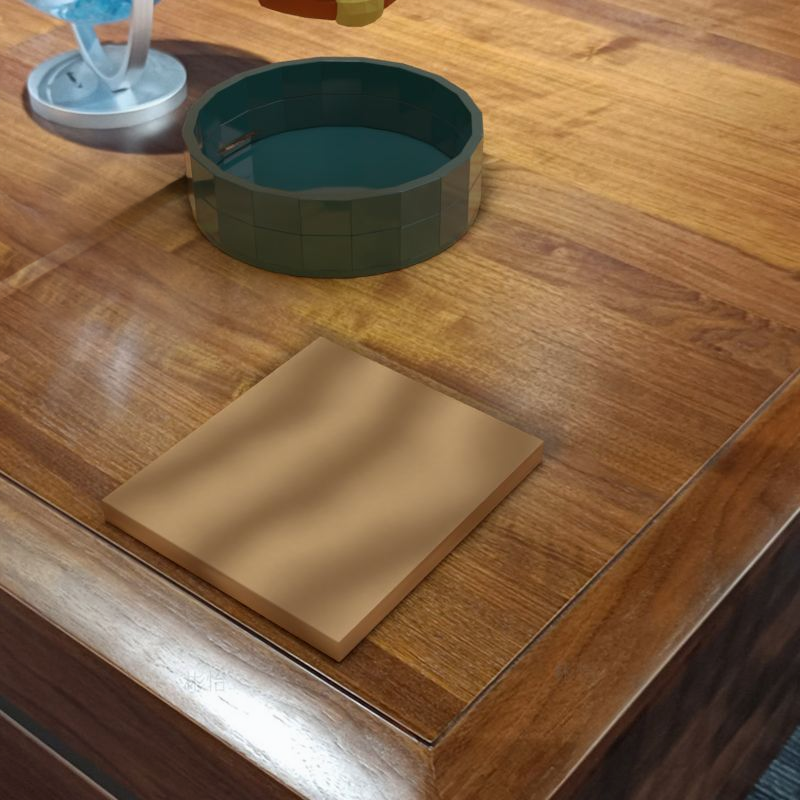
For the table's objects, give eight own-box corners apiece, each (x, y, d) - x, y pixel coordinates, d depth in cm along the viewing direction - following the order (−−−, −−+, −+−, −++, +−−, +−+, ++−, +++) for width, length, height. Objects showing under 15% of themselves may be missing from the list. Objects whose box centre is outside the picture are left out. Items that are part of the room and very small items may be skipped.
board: (104, 520, 72) (100, 499, 71) (321, 355, 83) (320, 335, 82) (339, 663, 64) (338, 642, 63) (542, 460, 75) (544, 440, 74)
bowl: (131, 211, 96) (120, 135, 92) (317, 103, 108) (314, 32, 104) (359, 315, 86) (358, 235, 82) (534, 183, 99) (540, 108, 95)
